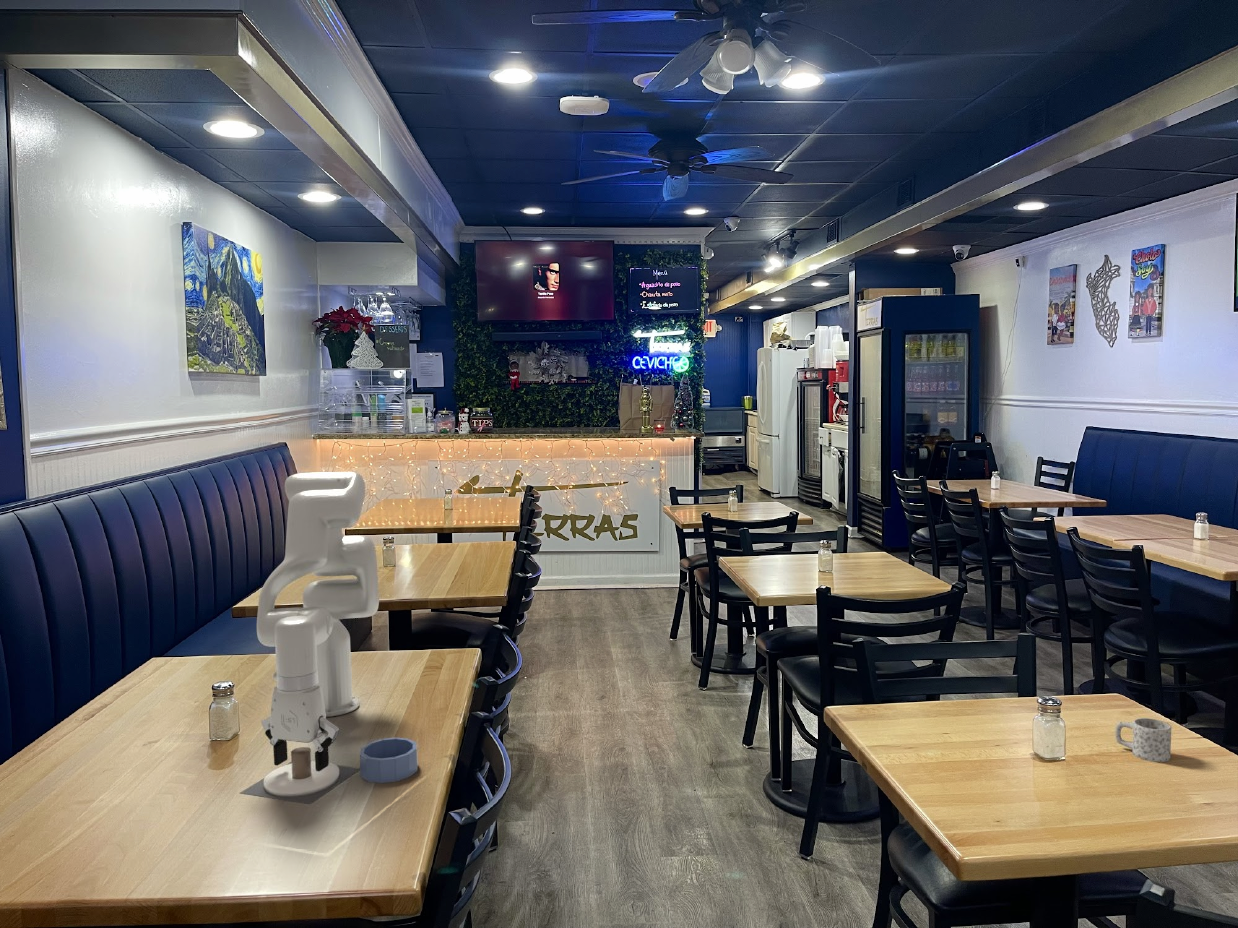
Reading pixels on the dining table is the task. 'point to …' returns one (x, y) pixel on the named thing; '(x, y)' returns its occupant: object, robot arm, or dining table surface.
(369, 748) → the bowl
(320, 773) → the lid
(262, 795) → the mat
